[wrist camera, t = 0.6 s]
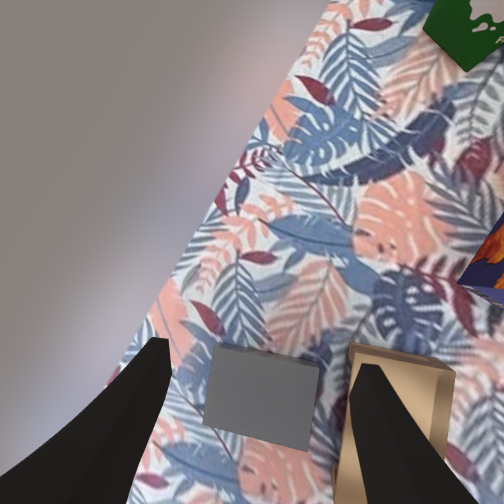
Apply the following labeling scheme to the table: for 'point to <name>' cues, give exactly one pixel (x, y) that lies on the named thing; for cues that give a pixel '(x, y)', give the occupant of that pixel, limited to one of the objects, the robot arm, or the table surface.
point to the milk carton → (467, 29)
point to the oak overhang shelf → (413, 397)
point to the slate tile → (261, 395)
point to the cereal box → (488, 268)
